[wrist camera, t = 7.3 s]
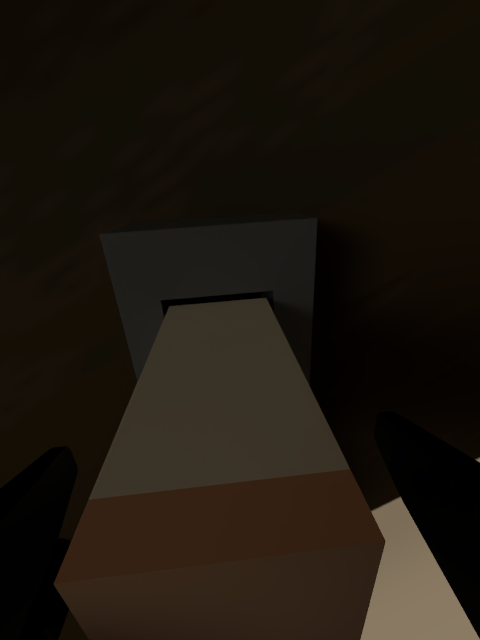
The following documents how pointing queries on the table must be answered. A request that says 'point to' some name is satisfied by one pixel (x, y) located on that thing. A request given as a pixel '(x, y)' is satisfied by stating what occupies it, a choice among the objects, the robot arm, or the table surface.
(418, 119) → the table surface
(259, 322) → the brown rectangular block
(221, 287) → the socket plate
